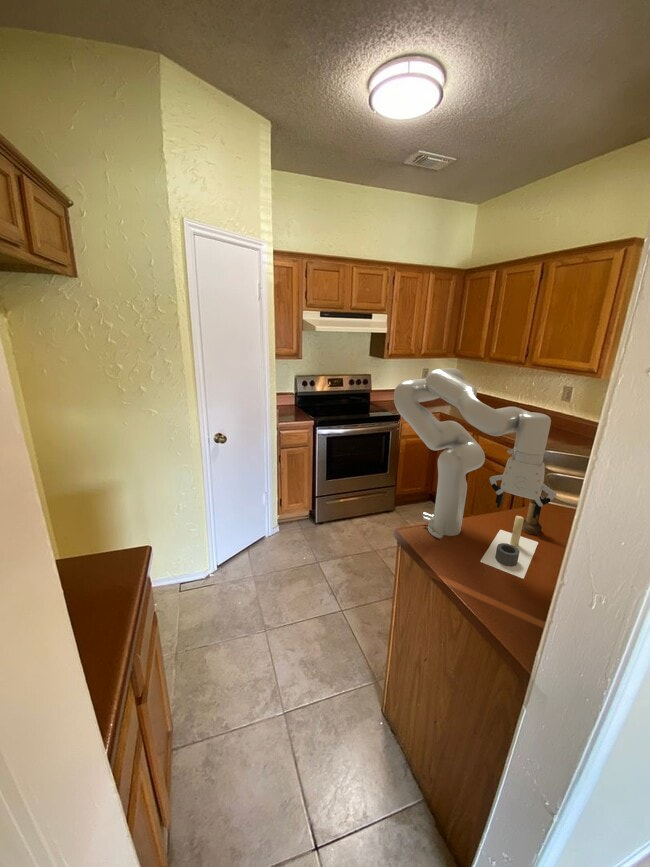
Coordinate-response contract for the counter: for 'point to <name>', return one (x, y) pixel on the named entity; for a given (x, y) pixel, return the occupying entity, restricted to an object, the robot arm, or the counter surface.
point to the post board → (514, 538)
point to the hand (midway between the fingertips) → (516, 511)
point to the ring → (507, 554)
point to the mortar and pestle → (532, 520)
